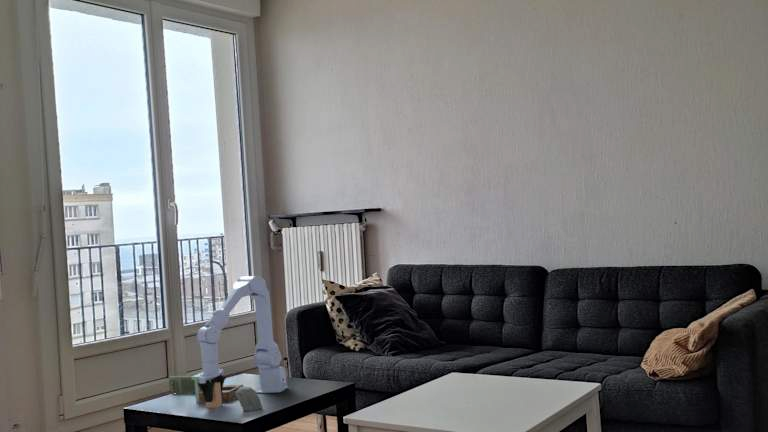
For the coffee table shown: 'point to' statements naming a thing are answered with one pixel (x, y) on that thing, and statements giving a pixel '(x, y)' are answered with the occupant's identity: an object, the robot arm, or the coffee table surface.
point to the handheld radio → (182, 384)
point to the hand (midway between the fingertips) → (213, 399)
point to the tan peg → (215, 397)
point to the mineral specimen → (248, 398)
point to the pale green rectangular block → (197, 388)
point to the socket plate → (224, 393)
